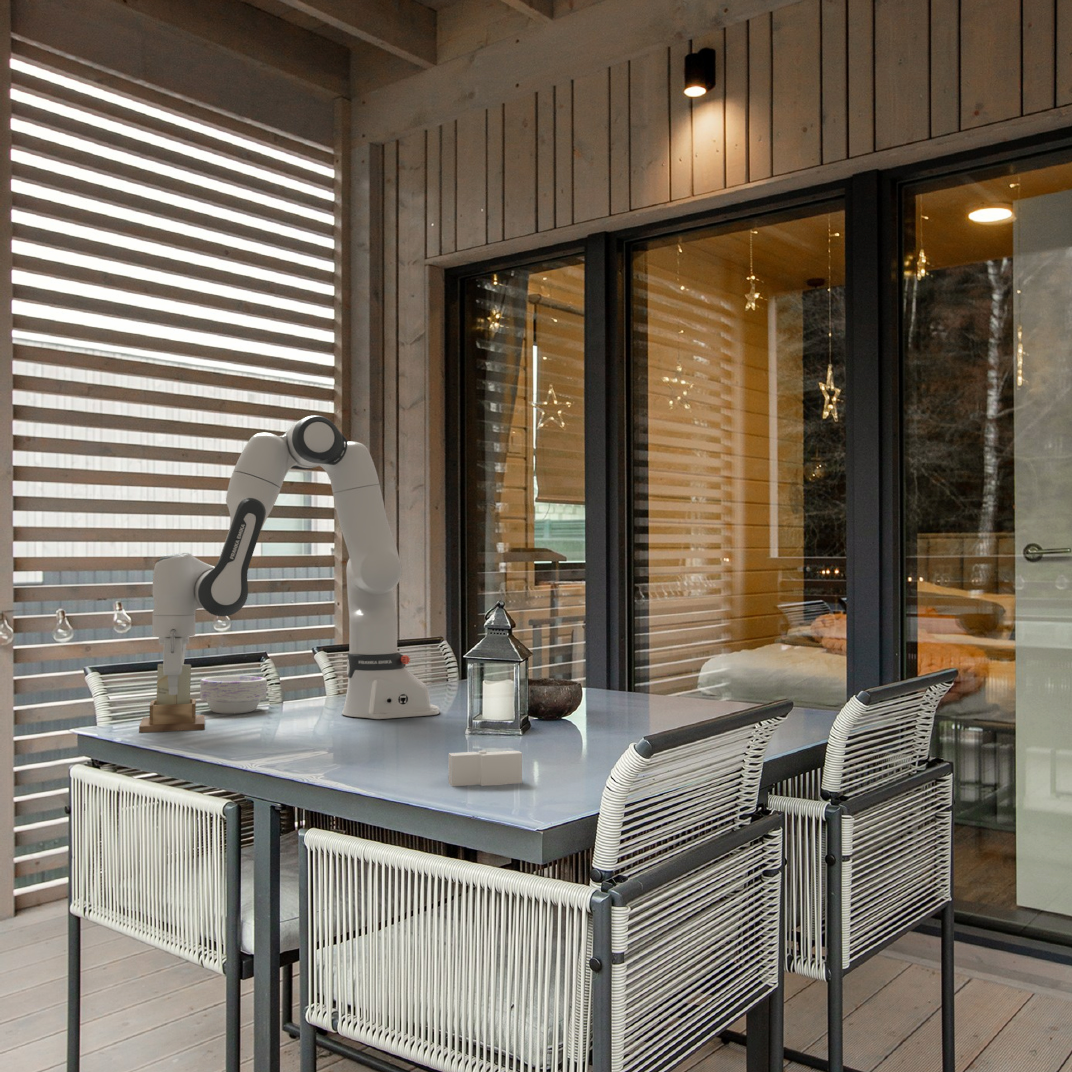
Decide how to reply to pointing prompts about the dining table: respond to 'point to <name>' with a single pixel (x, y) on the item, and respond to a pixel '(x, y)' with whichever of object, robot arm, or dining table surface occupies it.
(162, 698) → the skincare box
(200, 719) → the box
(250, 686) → the paper bowls
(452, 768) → the napkin holder
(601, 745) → the dining table surface
